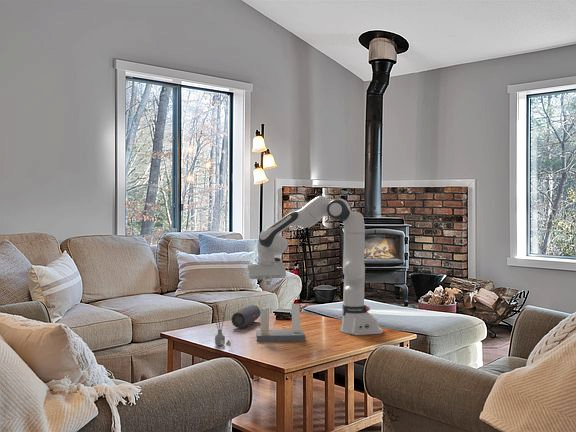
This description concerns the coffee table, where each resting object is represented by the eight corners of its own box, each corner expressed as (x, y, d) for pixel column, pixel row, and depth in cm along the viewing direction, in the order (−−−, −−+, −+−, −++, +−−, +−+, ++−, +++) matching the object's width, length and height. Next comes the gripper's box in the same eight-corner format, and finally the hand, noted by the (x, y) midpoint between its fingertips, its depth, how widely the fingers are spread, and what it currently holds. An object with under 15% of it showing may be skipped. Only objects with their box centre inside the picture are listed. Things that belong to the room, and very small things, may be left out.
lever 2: (299, 331, 309) (299, 304, 313) (300, 330, 307) (299, 303, 312) (292, 331, 309) (291, 304, 313) (292, 330, 307) (291, 303, 311)
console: (302, 335, 314) (302, 329, 314) (305, 341, 302) (305, 335, 302) (256, 336, 312) (256, 330, 312) (257, 341, 300) (257, 335, 300)
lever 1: (268, 330, 307) (269, 307, 302) (268, 332, 306) (269, 308, 300) (260, 330, 307) (261, 307, 301) (260, 332, 305) (261, 309, 300)
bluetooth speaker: (246, 330, 325) (246, 312, 324) (230, 329, 328) (230, 311, 327) (261, 322, 346) (261, 304, 346) (246, 320, 349) (246, 303, 349)
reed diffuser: (214, 348, 288) (214, 306, 287) (207, 345, 294) (207, 304, 293) (232, 344, 294) (232, 303, 294) (225, 342, 300) (225, 301, 299)
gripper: (247, 260, 329) (248, 282, 321) (285, 258, 331) (287, 280, 323) (247, 266, 334) (248, 288, 326) (284, 264, 336) (286, 286, 328)
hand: (268, 284), depth 325 cm, fingers closed
